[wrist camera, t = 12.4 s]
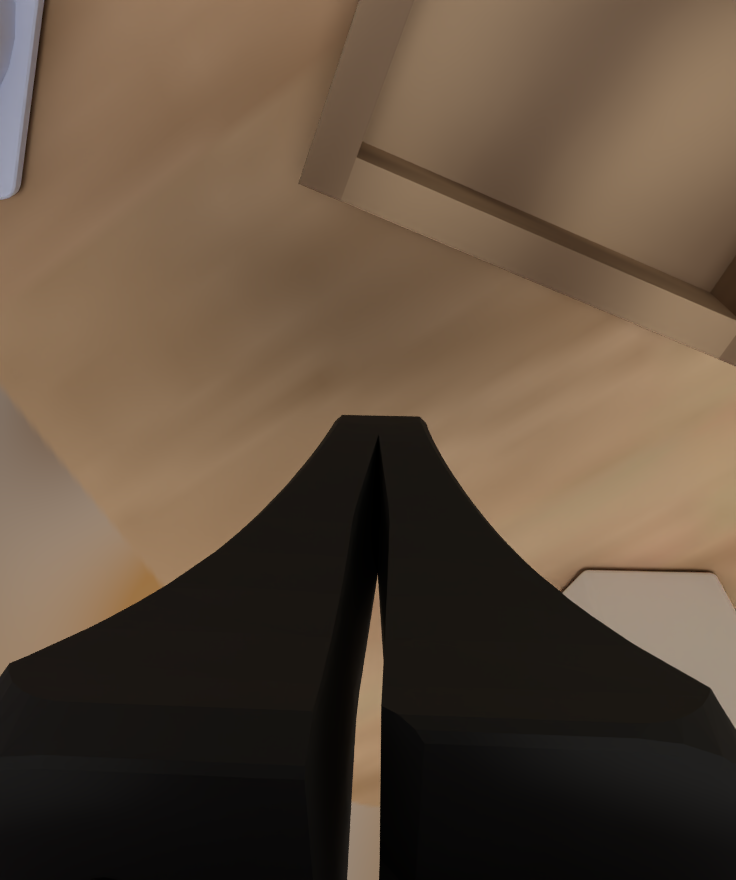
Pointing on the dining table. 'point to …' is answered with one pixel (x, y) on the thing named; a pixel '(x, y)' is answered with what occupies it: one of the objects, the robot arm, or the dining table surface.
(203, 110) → the dining table surface
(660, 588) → the jar
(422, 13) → the brown wooden tray
